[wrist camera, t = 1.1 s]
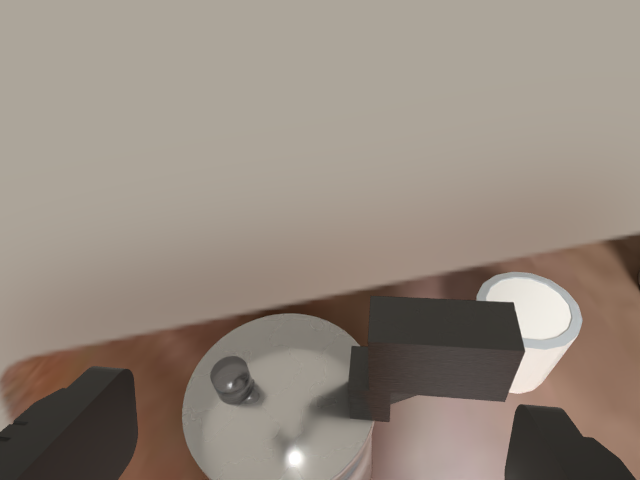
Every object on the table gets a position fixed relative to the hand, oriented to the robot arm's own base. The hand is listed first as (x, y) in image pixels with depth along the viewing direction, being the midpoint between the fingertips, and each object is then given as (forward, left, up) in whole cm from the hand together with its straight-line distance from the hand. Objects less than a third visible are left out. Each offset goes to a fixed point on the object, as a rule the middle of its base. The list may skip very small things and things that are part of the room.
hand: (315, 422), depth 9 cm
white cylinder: (-17, -11, -24) cm, 31 cm away
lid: (-2, -7, -14) cm, 16 cm away
